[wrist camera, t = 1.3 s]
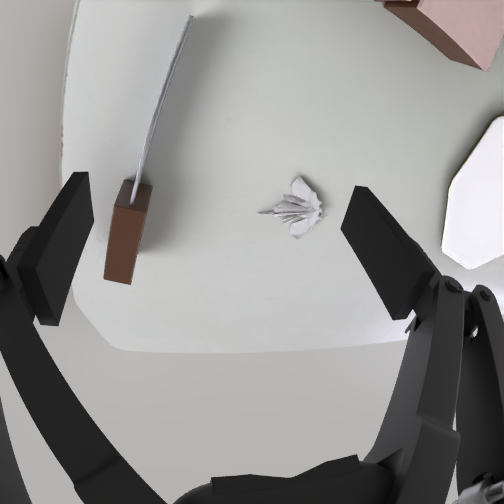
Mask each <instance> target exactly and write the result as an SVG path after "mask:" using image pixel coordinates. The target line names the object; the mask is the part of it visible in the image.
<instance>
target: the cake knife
mask: <svg viewBox="0 0 504 504" xmlns="http://www.w3.org/2000/svg"><path fill="white" fill-rule="evenodd" d="M193 21H194V16H191V15H190V16H189V18H188V21H187V23H186V25H185V28H184V30H183V33H182V35H181V37H180V40H179V43H178V45H177V48H176V50H175V53H174V56H173V58H172V61H171V64H170V66H169V69H168V72H167V75H166V78H165V80H164V83H163V86H162V89H161V92H160V95H159V98H158V101H157V105H156V108H155V111H154V114H153V117H152V121H151V124H150V127H149V131H148V134H147V138H146V141H145V145H144V149H143V152H142V156H141V160H140V164H139V168H138V172H137V176H136V180H135V182H132V181H127V180H124V181H123V184H122V186H121V189H120V191H119V194H118V196H117V199H116V202H115V204H114V208H113V214H112V220H111V226H110V232H109V239H108V246H107V253H106V261H105V269H104V279H105V280H109V281H114V282H119V283H124V284H128V285H131V282H132V277H133V272H134V267H135V262H136V258H137V253H138V248H139V244H140V240H141V235H142V231H143V227H144V222H145V218H146V214H147V210H148V205H149V201H150V196H151V192H152V186H149V185H144V184H140V181H141V177H142V173H143V169H144V165H145V161H146V157H147V154H148V150H149V147H150V143H151V140H152V136H153V133H154V129H155V126H156V123H157V120H158V116H159V113H160V110H161V107H162V104H163V101H164V98H165V95H166V92H167V89H168V86H169V83H170V80H171V78H172V75H173V72H174V69H175V67H176V64H177V61H178V59H179V56H180V53H181V51H182V48H183V46H184V43H185V41H186V38H187V36H188V33H189V31H190V28H191V26H192V24H193Z"/></svg>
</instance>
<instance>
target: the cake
mask: <svg viewBox="0 0 504 504" xmlns="http://www.w3.org/2000/svg"><path fill="white" fill-rule="evenodd" d="M384 8H386V9H387V10H389V11H390V12H391V13H393V14H394V15H396V16H397V17H398V18H400V19H401V20H403V21H404V22H405V23H407V24H408V25H409V26H410V27H412V28H413V29H414V30H416V31H417V32H418V33H419V34H421V35H422V36H423V37H424V38H426V39H427V40H428V41H429V42H430V43H432V44H433V45H434V46H435V47H436V48H438V49H439V50H440V51H441V52H442V53H443V54H444V55H445V56H447V57H448V58H449V59H450V60H453V61H456V62H460V63H463V64H466V65H469V66H472V67H475V68H477V69H480V70H483V71H486V72H487V71H488V69H489V67H490V65H491V63H492V60H493V58H494V56H495V54H496V51H497V49H498V47H499V44H500V42H501V40H502V37H503V35H504V0H411V1H386V3H385V5H384Z"/></svg>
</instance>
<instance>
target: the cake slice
mask: <svg viewBox="0 0 504 504" xmlns="http://www.w3.org/2000/svg"><path fill="white" fill-rule="evenodd" d="M374 1H411V0H374Z"/></svg>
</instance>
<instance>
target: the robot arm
mask: <svg viewBox="0 0 504 504" xmlns="http://www.w3.org/2000/svg"><path fill="white" fill-rule="evenodd" d="M93 223H94V216H93V209H92V201H91V192H90V183H89V173H88V172H73V174H72V175H71V177H70V178H69V180H68V181H67V182H66V184H65V185H64V187H63V188H62V190H61V191H60V193H59V194H58V196H57V197H56V199H55V201H54V202H53V204H52V205H51V207H50V208H49V210H48V212H47V213H46V215H45V216H44V218H43V220H42V221H41V223H40V225H39V226H36V227H35V226H31V227H30V228H28V229H27V230H26V231H25V232H24V233H23V234H22V235H21V237H20V238H19V240H18V242H17V244H16V245H15V247H14V249H13V251H12V252H11V254H10V256H9V257H8V259H7V261H6V262H5V259H4V258H3V256H2V255H0V351H1V354H2V356H3V359H4V361H5V363H6V366H7V368H8V370H9V372H10V375H11V377H12V379H13V381H14V384H15V386H16V388H17V390H18V392H19V394H20V396H21V398H22V400H23V402H24V404H25V406H26V408H27V409H28V411H29V413H30V415H31V417H32V419H33V421H34V422H35V424H36V426H37V428H38V429H39V431H40V433H41V434H42V436H43V438H44V439H45V441H46V443H47V444H48V446H49V447H50V449H51V451H52V452H53V454H54V455H55V457H56V458H57V460H58V461H59V463H60V464H61V466H62V467H63V469H64V470H65V471H66V473H67V474H68V476H69V477H70V479H71V480H72V482H73V484H74V489H75V491H76V492H77V494H78V496H79V497H80V499H81V500H82V501H83V503H84V504H167V503H166V502H165V501H164V500H163V499H162V498H161V497H160V496H159V495H157V493H156V492H155V491H154V490H153V489H152V488H151V487H150V486H149V485H148V484H147V483H146V482H145V481H144V480H143V479H142V478H141V477H140V476H139V475H138V474H137V473H136V472H135V470H134V469H133V468H132V467H131V466H130V465H129V464H128V463H127V461H126V460H125V459H124V458H123V457H122V456H121V455H120V453H119V452H118V451H117V450H116V449H115V448H114V446H113V445H112V444H111V443H110V442H109V440H108V439H107V438H106V436H105V435H104V434H103V433H102V431H101V430H100V429H99V427H98V426H97V425H96V424H95V422H94V421H93V420H92V418H91V417H90V415H89V414H88V413H87V411H86V410H85V409H84V407H83V406H82V404H81V403H80V401H79V400H78V399H77V397H76V396H75V394H74V393H73V391H72V390H71V388H70V387H69V385H68V383H67V382H66V380H65V379H64V377H63V376H62V374H61V372H60V371H59V369H58V367H57V366H56V364H55V362H54V361H53V359H52V357H51V356H50V354H49V352H48V350H47V349H46V347H45V345H44V343H43V341H42V340H41V338H40V336H39V334H38V332H37V330H36V328H35V326H34V324H33V321H34V318H35V315H36V316H37V318H38V320H39V322H40V325H48V326H58V325H59V322H60V318H61V315H62V311H63V308H64V305H65V301H66V298H67V295H68V292H69V289H70V286H71V283H72V280H73V277H74V274H75V271H76V268H77V265H78V262H79V260H80V257H81V254H82V251H83V249H84V246H85V243H86V241H87V238H88V236H89V233H90V231H91V228H92V226H93ZM341 231H342V232H343V234H344V236H345V237H346V239H347V241H348V242H349V244H350V245H351V247H352V249H353V250H354V252H355V254H356V256H357V257H358V259H359V261H360V262H361V264H362V266H363V267H364V269H365V271H366V273H367V274H368V276H369V278H370V280H371V281H372V283H373V285H374V287H375V288H376V290H377V292H378V294H379V296H380V297H381V299H382V301H383V303H384V305H385V307H386V308H387V310H388V312H389V314H390V316H391V318H392V320H400V319H406V318H407V317H408V315H409V314H410V312H411V311H412V309H413V310H414V312H415V313H416V316H415V317H414V319H413V320H412V322H411V323H410V325H409V326H408V327H407V329H406V330H405V333H407V332H408V331H409V330H410V333H409V337H408V342H407V345H406V349H405V353H404V357H403V360H402V364H401V367H400V371H399V374H398V378H397V381H396V384H395V387H394V391H393V394H392V397H391V400H390V403H389V406H388V409H387V412H386V414H385V417H384V420H383V423H382V425H381V428H380V431H379V433H378V436H377V439H376V441H375V444H374V446H373V448H372V449H371V451H370V452H369V453H368V455H367V456H366V457H365V458H364V460H363V461H359V459H358V456H357V454H356V455H352V456H348V457H344V458H340V459H336V460H332V461H327V462H324V463H322V464H320V465H319V466H316V467H314V468H312V469H310V470H308V471H306V472H304V473H302V474H299V475H297V476H295V477H291V478H284V477H272V476H261V475H252V474H248V475H238V476H225V477H211V481H210V483H208V484H205V485H202V486H199V487H197V488H195V489H192V490H191V491H189V492H187V493H185V494H184V495H183V496H181V497H180V498H178V500H176V501H175V502H174V503H173V504H445V501H446V498H447V495H448V491H449V487H450V484H451V480H452V476H453V472H454V468H455V464H456V472H457V473H456V477H457V490H458V496H459V499H458V500H456V501H454V502H453V503H452V504H504V322H503V318H502V315H501V312H500V309H499V306H498V303H497V300H496V298H495V296H494V294H493V293H492V292H491V290H490V289H488V288H487V287H485V286H483V285H476V287H475V288H474V290H473V291H472V292H468V291H464V290H463V287H462V286H461V284H460V283H459V282H458V281H457V280H455V279H454V278H452V277H450V276H445V275H444V276H442V275H441V273H440V272H439V270H438V269H437V268H436V266H435V265H434V264H433V262H432V261H431V260H430V258H428V256H427V254H426V253H425V252H423V249H422V248H421V247H420V245H419V244H418V243H417V242H416V241H414V240H413V239H412V238H411V237H409V236H408V234H407V233H406V232H405V231H404V229H403V228H402V227H401V226H400V225H399V223H398V222H397V221H396V220H395V218H394V217H393V216H392V215H391V214H390V213H389V211H388V210H387V209H386V208H385V207H384V205H383V204H382V203H381V202H380V201H379V200H378V199H377V197H376V196H375V195H374V194H373V193H372V192H371V191H370V189H369V188H368V187H363V186H355V188H354V191H353V194H352V197H351V200H350V203H349V206H348V209H347V211H346V214H345V217H344V220H343V223H342V226H341ZM477 327H478V331H477V335H476V336H475V337H474V336H473V332H474V331H475V330H476V328H477ZM455 410H456V431H454V430H453V421H454V416H455ZM456 461H457V462H456ZM0 504H32V502H31V500H30V498H29V495H28V493H27V490H26V487H25V485H24V482H23V479H22V476H21V473H20V470H19V467H18V464H17V461H16V458H15V455H14V452H13V449H12V445H11V441H10V437H9V433H8V430H7V425H6V421H5V417H4V412H3V408H2V403H1V398H0Z"/></svg>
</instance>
